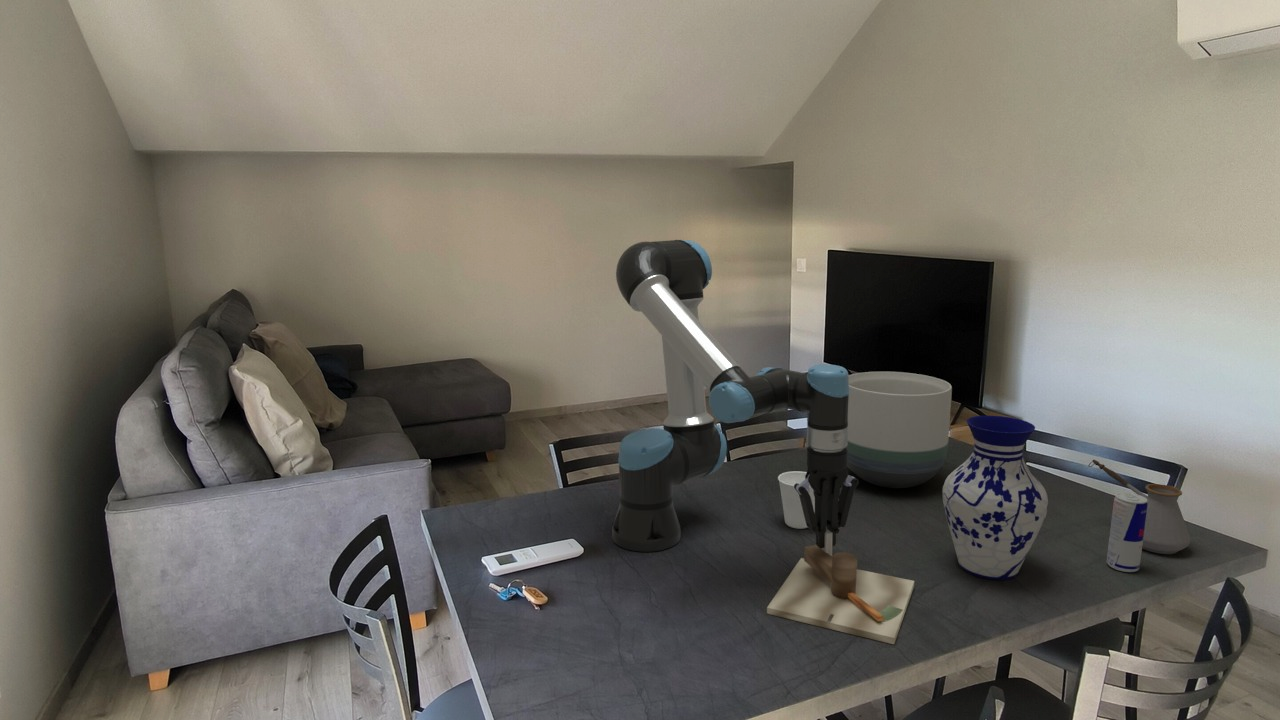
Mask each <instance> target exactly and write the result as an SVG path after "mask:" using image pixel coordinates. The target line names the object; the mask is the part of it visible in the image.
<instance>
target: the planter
mask: <svg viewBox="0 0 1280 720" xmlns="http://www.w3.org/2000/svg"><path fill="white" fill-rule="evenodd" d="M848 380H849V389H850V392H849V401H848V444H847V446H846V449H847V450H848V455H847V467H848V468H849V469H850V470H851V472H852V473H854V474H855V475H856V476H858V478H860V479H861V480H863V481H865V482H867V483H869V484H872V485H874V486H878V487H882V488H888V489H906V488H907V489H908V488H913V487H917V486H919V485H921V484H924V483H926V482H928V481H929V480H931V479H932V478H933V477H934V476H935V475H937V474H938V473H939V471H940V470H941V468H942V467H943V465H944V462H945V460H946V457H947V454H948V449H949V435H950V427H951V426H950V425H951V408H952V397H953V396H952V393H953V387H952V385H951V383H949V382H948V381H946V380H944V379H941V378H937V377H935V376H929V375H925V374H921V373H919V374H917V373H911V372H903V371H868V372H867V371H865V372H856V373H853V374H848Z"/></svg>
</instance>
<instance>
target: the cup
mask: <svg viewBox="0 0 1280 720" xmlns="http://www.w3.org/2000/svg"><path fill="white" fill-rule="evenodd" d="M806 473H807V471H799V470H798V471H796V470H795V471H786V472H782V473H780V474H779V475H778V476H777V480H778V481H779V483H778V484H779V488H780V490H779V491H780V495H781V504H782V509H783V516H784V518H783V519H784V523H785V524H786V525H787V526H788V527H790V528H793V529H798V530H799V529H800V530H801V529H803V530H804V529H809V528H808V527H807V525H806V521H805V517H804V513H803V509H802V505H801V501H800V497H799V494H798V492H797V491H796V490H795V488H794V485H795V484H796V483H799V484H800V483H802V482H803V481H804V480H805V475H806ZM809 489H810V492H809V495H810V497H811V501H812V505H813V509H814V513H815V496H814V490H813V489H812V488H811V486H809Z"/></svg>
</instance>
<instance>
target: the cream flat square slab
mask: <svg viewBox="0 0 1280 720" xmlns="http://www.w3.org/2000/svg"><path fill="white" fill-rule="evenodd" d="M914 589H915V580H911V579H906V578H902V577H897V576H892V575H887V574H884V573H877V572H872V571H867V570H863V569H858V568H857V575H856V595H857V596H858V597H859V598H861V599H862V600H863V601H864V602H866V603H867V604H868V605H870V606H871V607H872V608H873V609H875V610H876V611H877V612H878V613H880V614H881V615H882V616H883V621H877V620H876V619H874V618H873V617H872V616H871V615H869V614H868V613H867V612H866V611H864V610H863V609H862V608H861V607H859V606H858V605H857V604H856V603H854V602H853V601H852V600H851V599H849V598H843V597H838V596H836V595H834V594H833V593H832V592H831V582H830V581H829V580H827V579H826V578H825V577H824V576H822V575H821V574H820V573H819V572H817V571H816V570H815V569H814V568H812V567H811V566H810V565H809V564H807V563H806V562H805V561H804V557H800V559H799V560H798V562H797V563H796V565H795V566H794V567H793V569H792V570H791V572H790V574H789V575H788V576H787V578H785V580H784V582H783V584H782V585H781V586H780V588H779V589H778V591H777V592H776V593H775V595H774V597H772V600H771V601H770V603H769V604H768V605H767V607H766V614H768V615H772V616H775V617H780V618H783V619H788V620H791V621H797V622H800V623H804V624H809V625H812V626H817V627H820V628H824V629H828V630H832V631H838V632H842V633H845V634H848V635H853V636H857V637H861V638H865V639H870V640H872V641H873V640H874V641H879V642H882V643H885V644H889V645H895V643H896V640H897V637H898V635H899V632H900V629H901V626H902V623H903V619H904V617H905V613H906V611H907V610H908V609H907V608H908V605H909V602H910V600H911V596H912V594H913V590H914Z"/></svg>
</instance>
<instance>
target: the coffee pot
mask: <svg viewBox="0 0 1280 720" xmlns="http://www.w3.org/2000/svg"><path fill="white" fill-rule="evenodd" d="M1092 463H1093V464H1092ZM1091 464H1092V465H1091ZM1094 465H1095V466H1098V467H1099V469H1100V470H1102V471H1104V472H1105V473H1106V474H1107V475H1108V476H1110V477H1111V478H1112V479H1113V480H1115V481H1116V482H1118V483H1121V485H1123V486H1125V487H1127V488H1128V489H1130V490H1131V491H1132V492H1134V494H1138V495H1141V496H1143V497H1145V498H1146V499H1147V504H1148V506H1147V514H1146V521H1145V529H1144V537H1143V544H1142V550H1145V551H1147V552H1151V553H1156V554H1161V555H1173V554H1177V553H1178V552H1179V551H1180V552H1181V551H1182V550H1185V549H1186V548H1187V547H1188V546H1189V545H1190V544H1191V542H1192V541H1191V540H1192V539H1191V535H1190V532H1189V531H1188V528H1187V525H1186V521H1185V519H1184V517H1183V514H1182V511H1181V508H1180V505H1179V503H1178V500H1179V497H1181V496H1182V495H1183V491H1182V490H1181V489H1179V488H1177V487H1175V486H1173V485H1168V484H1161V483H1160V484H1159V483H1149V484H1146V485H1145V486H1144V487H1145V490H1146V491H1147V495H1146V494H1145V493H1143V492H1142V491H1140V490H1139V489H1138V488H1136V487H1135V486H1133V485H1131V484H1130V483H1129V482H1128V481H1127V480H1125V479H1124V478H1123V477H1122V476H1120V475H1119V474H1117V473H1116V472H1115V471H1114V470H1112V469H1110V468H1108V467H1106V465H1105V464H1104V463H1103V464H1102V463H1100V462H1099V461H1097V460H1096V459H1092V461H1091V462H1089V464H1088V467H1089V468H1092V467H1093V466H1094Z"/></svg>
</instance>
